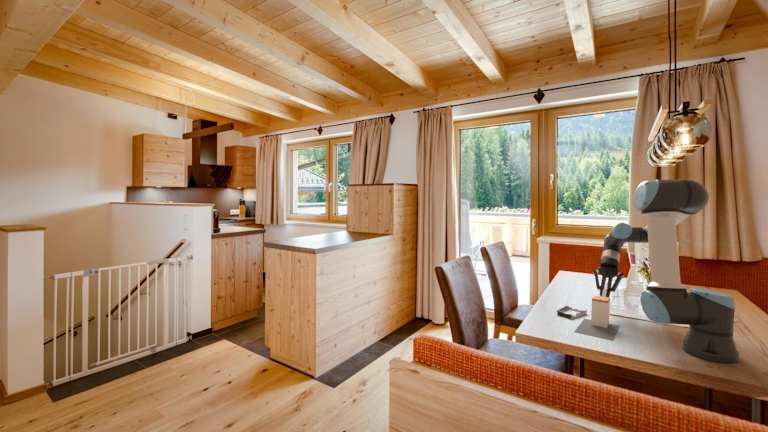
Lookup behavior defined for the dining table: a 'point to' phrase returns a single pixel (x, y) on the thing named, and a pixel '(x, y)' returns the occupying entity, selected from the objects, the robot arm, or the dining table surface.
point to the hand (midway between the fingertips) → (603, 302)
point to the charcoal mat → (597, 330)
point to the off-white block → (600, 311)
